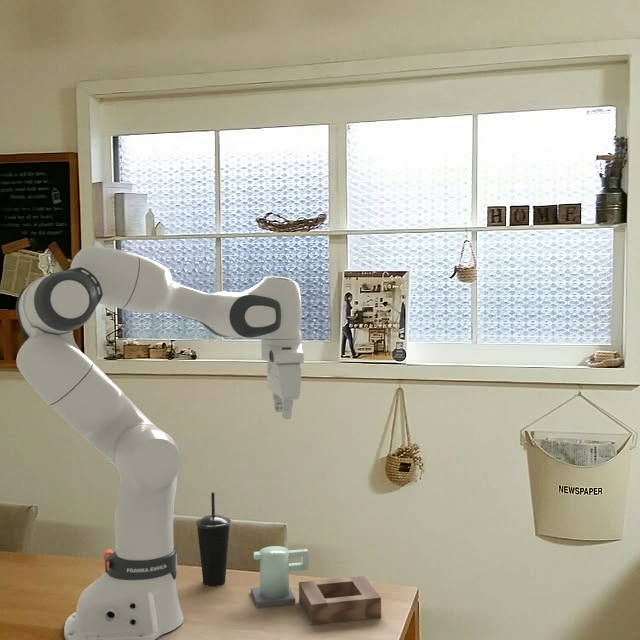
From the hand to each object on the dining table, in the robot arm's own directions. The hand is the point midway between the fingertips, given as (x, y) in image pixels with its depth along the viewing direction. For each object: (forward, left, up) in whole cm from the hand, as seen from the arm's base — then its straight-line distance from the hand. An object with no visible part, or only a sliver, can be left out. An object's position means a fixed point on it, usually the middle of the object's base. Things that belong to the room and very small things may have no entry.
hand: (282, 415), depth 180 cm
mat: (-4, -8, -37) cm, 38 cm away
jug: (-2, -8, -36) cm, 37 cm away
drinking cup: (-15, +4, -37) cm, 40 cm away
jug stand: (+8, -17, -37) cm, 42 cm away
